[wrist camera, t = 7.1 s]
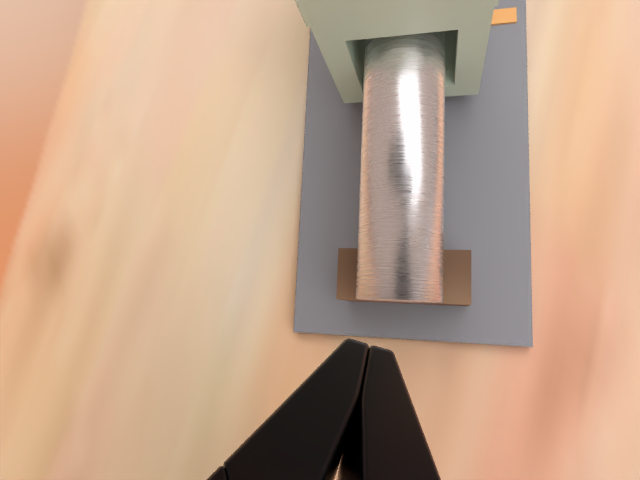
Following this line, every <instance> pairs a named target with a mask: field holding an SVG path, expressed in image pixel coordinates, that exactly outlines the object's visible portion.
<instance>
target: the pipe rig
mask: <svg viewBox="0 0 640 480" xmlns="http://www.w3.org/2000/svg"><path fill="white" fill-rule="evenodd" d="M294 332H299V333H315V334H331V335H347V336H363V337H380V338H396V339H412V340H428V341H444V342H460V343H476V344H492V345H508V346H524V347H533V339H532V290H531V241H530V192H529V143H528V94H527V45H526V0H499V2H498V6H495V7H494V11H493V16H492V22H491V27H490V33H489V38H488V44H487V50H486V55H485V61H484V66H483V72H482V77H481V83H480V88H479V94H477V95H462V96H447V97H445V31H440V32H430V33H420V34H410V35H400V36H390V37H380V38H370V39H365V60H364V88H363V102H357V103H344V102H343V100H342V98H341V96H340V93H339V91H338V89H337V87H336V84H335V82H334V80H333V78H332V75H331V73H330V71H329V69H328V66H327V64H326V62H325V60H324V57H323V55H322V53H321V51H320V48H319V46H318V44H317V42H316V39H315V37H314V35H313V33H312V30H311V29H310V47H309V65H308V82H307V100H306V118H305V136H304V154H303V172H302V190H301V208H300V226H299V244H298V262H297V280H296V297H295V315H294Z"/></svg>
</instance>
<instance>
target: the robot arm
mask: <svg viewBox="0 0 640 480" xmlns="http://www.w3.org/2000/svg"><path fill="white" fill-rule="evenodd" d="M340 460H341V461H340ZM339 463H340V466H339ZM338 466H339V472H338V479H337V480H441V479H440V476H439V473H438V471H437V468H436V465H435V463H434V460H433V457H432V455H431V452H430V449H429V447H428V444H427V441H426V438H425V436H424V433H423V430H422V428H421V425H420V422H419V420H418V417H417V414H416V412H415V409H414V406H413V404H412V401H411V398H410V395H409V393H408V390H407V387H406V385H405V382H404V379H403V377H402V374H401V371H400V369H399V366H398V363H397V360H396V358H395V355H394V353H393V352H392V351H391V350H388V349H384V348H381V347H377V346H371V347H370V348H369V346H368V344H366V343H363V342H360V341H356V340H353V339H346V340H345V341H344V342H343V343H342V344H341V345H340V346H339V347H338V348H337V349H336V350H335V351H334V352H333V353H332V354H331V355H330V356H329V357H328V358H327V359H326V360H325V361H324V362H323V363H322V364H321V365H320V366H319V367H318V368H317V369H316V370H315V371H314V372H313V373H312V374H311V375H310V376H309V377H308V378H307V379H306V380H305V381H304V382H303V383H302V384H301V385H300V386H299V387H298V388H297V389H296V390H295V391H294V392H293V393H292V394H291V395H290V396H289V397H288V398H287V399H286V400H285V401H284V402H283V403H282V404H281V405H280V406H279V407H278V408H277V409H276V410H275V411H274V412H273V413H272V414H271V416H270V417H269V418H268V419H267V420H266V421H265V422H264V423H263V424H262V425H261V426H260V427H259V428H258V429H257V430H256V431H255V432H254V433H253V434H252V435H251V436H250V437H249V438H248V439H247V440H246V441H245V442H244V443H243V444H242V445H241V446H240V447H239V448H238V449H237V450H236V451H235V452H234V453H233V454H232V455H231V456H230V457H229V458H228V459H227V460H226V461H225V462H224V466H220V467H219V468H218V469H217V470H216V471H215V472H214V473H213V474H212V475H211V476H210V477H209V478H208V479H207V480H334V478H335V475H336V472H337V469H338Z"/></svg>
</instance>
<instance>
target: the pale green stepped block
mask: <svg viewBox="0 0 640 480" xmlns="http://www.w3.org/2000/svg"><path fill="white" fill-rule="evenodd" d="M295 2H296V4H297V6H298V8H299V11H300V13H301V15H302V17H303V19H304V22H305V24H306V26H307V27H310V28H311V30H312V33H313V35H314V37H315V39H316V42H317V44H318V46H319V48H320V51H321V53H322V55H323V57H324V60H325V62H326V64H327V66H328V69H329V71H330V73H331V75H332V78H333V80H334V82H335V84H336V87H337V89H338V91H339V93H340V96H341V98H342V100H343V102H344V103H357V102H363V88H364V60H365V39H370V38H380V37H390V36H400V35H410V34H420V33H430V32H440V31H445V97H447V96H462V95H477V94H479V88H480V83H481V77H482V72H483V66H484V61H485V55H486V50H487V44H488V38H489V33H490V27H491V22H492V16H493V11H494V7H495V6H498V2H499V0H295Z"/></svg>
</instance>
